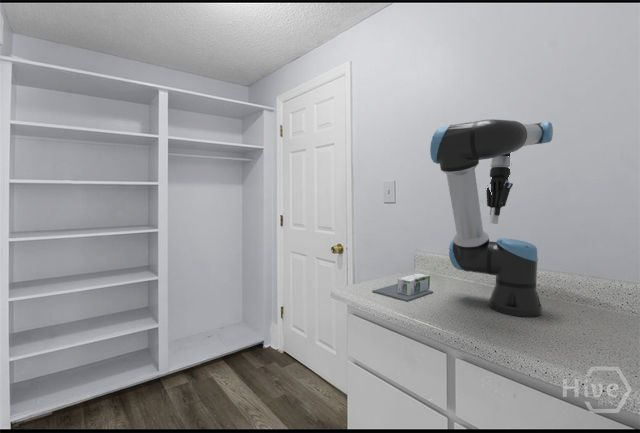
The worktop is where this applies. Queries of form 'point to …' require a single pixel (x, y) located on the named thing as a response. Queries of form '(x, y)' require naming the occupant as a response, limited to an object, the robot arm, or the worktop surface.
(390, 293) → the mat
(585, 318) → the worktop surface
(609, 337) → the worktop surface
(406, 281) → the syrup box
